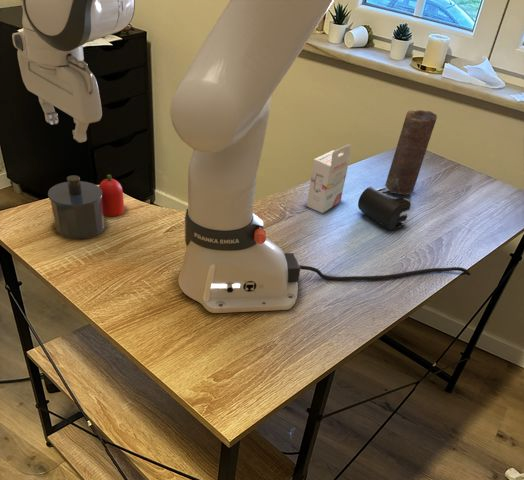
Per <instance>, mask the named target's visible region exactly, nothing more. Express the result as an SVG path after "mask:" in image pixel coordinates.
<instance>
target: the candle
mask: <svg viewBox="0 0 524 480" xmlns="http://www.w3.org/2000/svg"><path fill="white" fill-rule="evenodd" d="M437 119H438V116H437V114H436V113H434V112H433V111H431V110H421V109H418V110H412V109H411V110H408V111H407V112H406V114H405V118H404V120H403V124H402V127H401V131H400V134H399V137H398V141H397V144H396V148H395V151H394V155H393V158H392V161H391V164H390V168H389V170H388V174H387V177H386V181H385V186H384V187H385V188H387V189H388V190H390V191H392V194H399V195H404V196H405V195H409V194H412V193H413V192H414V190H415V187H416V184H417V181H418V177H419V174H420V171H421V168H422V165H423V161H424V159H425V155H426V153H427V149H428V146H429V143H430V140H431V137H432V134H433V131H434V128H435V125H436V123H437Z"/></svg>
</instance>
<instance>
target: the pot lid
mask: <svg viewBox="0 0 524 480" xmlns="http://www.w3.org/2000/svg"><path fill="white" fill-rule="evenodd" d="M102 195H103V194H102V190H101V188H100V187H99V185H98V184H95V183H92V182H88V181H83V180H81V177H80V176H79V175H75V174H74V175H69V176H67V177H66V181H64V182H60V183H57V184H55V185H53V186H52V187H50V188H49V190H48V192H47V197H48V199H49V201H50V202H51V201H52V202H53V203H54V204H57V205H59V206H63V207H71V208H78V207H86V206H90V205H93V204H95V203H97V202H98V201H100V200H101V198H102Z"/></svg>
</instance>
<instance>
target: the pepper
mask: <svg viewBox="0 0 524 480" xmlns="http://www.w3.org/2000/svg"><path fill="white" fill-rule="evenodd" d="M98 187H100V188H101V190H102V194H103V195H102V205H103V214H104V216H108V217H117V216H120V215H122V214H124V212H125V203H124V191H123V185H122V184H121V183H120V182H119V181H118V180H116V179H114V178H112V174H107V175H106V178H104V179H102V180H101V182H100V183H99V185H98Z"/></svg>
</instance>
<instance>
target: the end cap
mask: <svg viewBox="0 0 524 480" xmlns="http://www.w3.org/2000/svg"><path fill="white" fill-rule="evenodd" d="M392 194H393V193H392V191H390V190H388V189H387V187H386V186H384V187H379V188H374V187H372V186H368V187H367V188H365V189H364V190H363V192H362V193H361V194H360V196H359V198H358V201H357V207H358V210H360V212H361V213H362V214H364V215H365V216H367V217H368V218H370V219H372V220H373V221H375V222H377V223H378V224H379V225H381V226H383V227H384V228H386V229H387V230H389V231H396V230H398V229H401V228H403V227H404V225H405V224H404V223H403V222H405V221H407V218H408V214H403V213H404V212H407V211H410V209H411V206H412V203H411V202H410V201H409V200H408V199H406V198H404V197H403V196H400V197H396V198H395V197H394V198H393V197H390V196H388V195H392Z"/></svg>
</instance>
